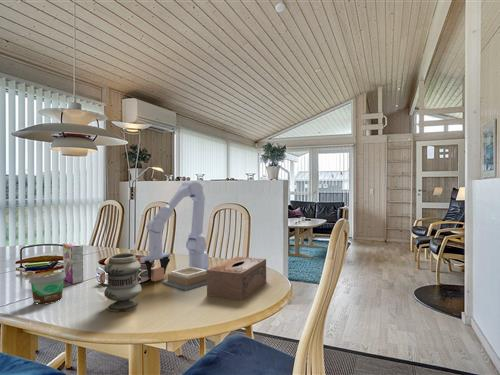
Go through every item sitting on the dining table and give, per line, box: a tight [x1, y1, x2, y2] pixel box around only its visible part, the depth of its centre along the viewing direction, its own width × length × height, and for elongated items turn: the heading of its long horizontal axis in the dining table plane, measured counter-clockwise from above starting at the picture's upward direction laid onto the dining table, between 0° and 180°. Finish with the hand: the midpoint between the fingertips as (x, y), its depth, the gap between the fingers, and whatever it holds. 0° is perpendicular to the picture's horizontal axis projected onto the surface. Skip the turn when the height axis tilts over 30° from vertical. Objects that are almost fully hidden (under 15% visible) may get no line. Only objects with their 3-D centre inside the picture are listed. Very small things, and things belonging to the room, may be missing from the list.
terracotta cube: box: [150, 266, 165, 282], centre depth 150 cm, size 5×5×5 cm
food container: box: [28, 269, 66, 305], centre depth 122 cm, size 12×6×10 cm, turn 148°
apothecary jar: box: [103, 252, 142, 313], centre depth 115 cm, size 12×12×18 cm
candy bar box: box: [62, 242, 84, 285], centre depth 148 cm, size 11×5×16 cm, turn 47°
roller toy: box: [99, 271, 105, 285], centre depth 144 cm, size 4×6×6 cm
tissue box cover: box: [206, 256, 267, 301], centre depth 135 cm, size 26×14×10 cm, turn 156°
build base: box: [162, 266, 207, 291], centre depth 144 cm, size 16×16×5 cm
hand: (156, 275), depth 150 cm, fingers open, 7 cm apart
